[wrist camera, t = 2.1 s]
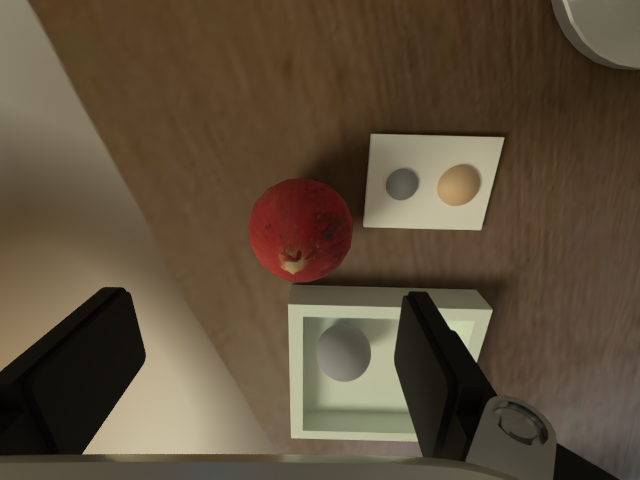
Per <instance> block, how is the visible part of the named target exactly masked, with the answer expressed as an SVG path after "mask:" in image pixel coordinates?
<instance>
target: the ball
mask: <svg viewBox="0 0 640 480" xmlns="http://www.w3.org/2000/svg"><path fill="white" fill-rule="evenodd" d="M316 354H317V360H318V363H319V366H320V367H321V369H322V371H323V372H324V373H325V374H326V375H327V376H328V377H330V378H332V379H334V380H336V381H340V382H349V381H353V380H355V379H357V378H359V377H360V376H361V375H362V374H363V373H364V372H365V371H366V370H367V368H368V366H369V363H370V360H371V347H370V344H369V341H368V339H367V337H366V336H365V334H364V333H363V332H362V331H361V330H360V329H358V328H357V327H355V326H353V325H350V324H336V325H333V326H331V327H330V328H328V329H327V330H326V331H325V332H324V333H323V334H322V335H321V337H320V339H319V341H318V344H317V349H316Z"/></svg>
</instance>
